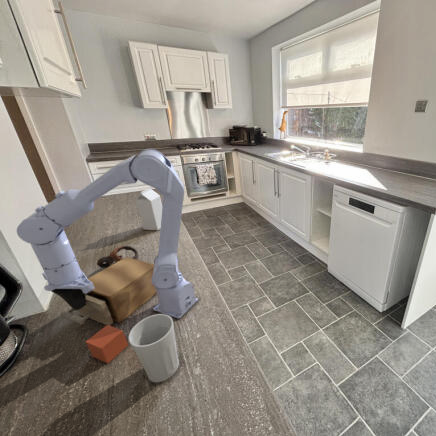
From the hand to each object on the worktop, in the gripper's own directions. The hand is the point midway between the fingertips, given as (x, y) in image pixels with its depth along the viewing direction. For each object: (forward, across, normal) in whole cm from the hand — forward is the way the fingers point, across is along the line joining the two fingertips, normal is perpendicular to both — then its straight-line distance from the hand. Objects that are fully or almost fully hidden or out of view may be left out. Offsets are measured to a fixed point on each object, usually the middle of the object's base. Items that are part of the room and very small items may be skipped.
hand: (79, 307), depth 60 cm
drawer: (+6, 0, +6) cm, 9 cm away
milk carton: (+6, -32, +51) cm, 60 cm away
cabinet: (+7, 0, +11) cm, 13 cm away
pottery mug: (+7, -17, +22) cm, 29 cm away
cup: (+7, +27, -2) cm, 28 cm away
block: (+7, +12, -3) cm, 14 cm away
